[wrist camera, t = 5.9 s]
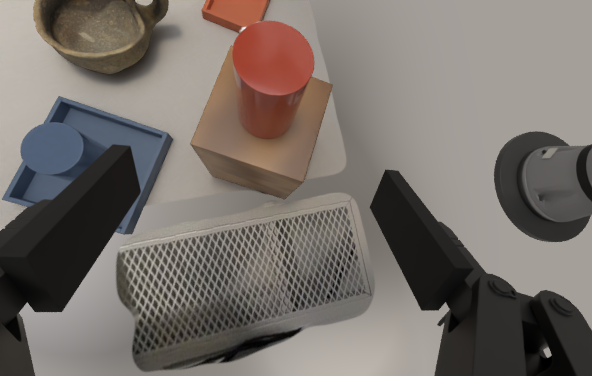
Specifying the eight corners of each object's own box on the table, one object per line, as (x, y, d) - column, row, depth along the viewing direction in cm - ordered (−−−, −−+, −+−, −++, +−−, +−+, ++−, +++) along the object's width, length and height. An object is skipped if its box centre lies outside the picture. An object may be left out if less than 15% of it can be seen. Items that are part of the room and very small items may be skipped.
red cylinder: (300, 98, 28) (323, 39, 20) (284, 147, 27) (301, 107, 18) (248, 78, 28) (247, 8, 19) (229, 127, 27) (219, 76, 18)
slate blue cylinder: (128, 155, 38) (92, 132, 29) (111, 193, 37) (68, 181, 28) (86, 141, 37) (36, 114, 29) (67, 180, 36) (8, 163, 27)
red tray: (271, -3, 47) (271, -11, 45) (254, 39, 45) (255, 31, 44) (221, -23, 46) (220, -33, 44) (203, 18, 44) (201, 10, 42)
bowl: (50, 14, 40) (-14, -55, 30) (167, -4, 44) (144, -71, 34) (74, 94, 39) (16, 49, 29) (192, 68, 42) (176, 20, 33)
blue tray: (173, 138, 40) (168, 133, 38) (132, 234, 37) (123, 234, 34) (70, 104, 38) (58, 95, 36) (18, 201, 35) (1, 199, 33)
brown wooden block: (305, 133, 44) (333, 84, 29) (284, 199, 42) (303, 182, 27) (237, 108, 43) (230, 44, 28) (211, 175, 40) (189, 144, 26)
